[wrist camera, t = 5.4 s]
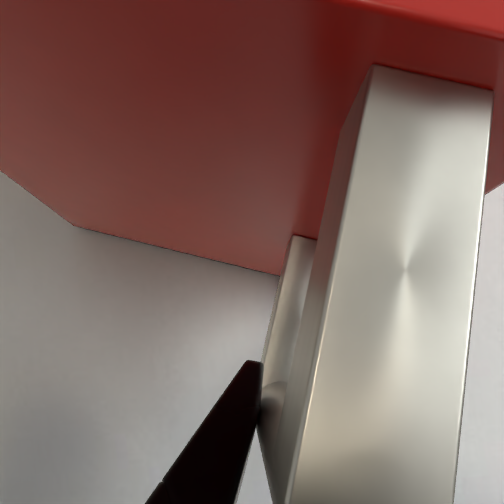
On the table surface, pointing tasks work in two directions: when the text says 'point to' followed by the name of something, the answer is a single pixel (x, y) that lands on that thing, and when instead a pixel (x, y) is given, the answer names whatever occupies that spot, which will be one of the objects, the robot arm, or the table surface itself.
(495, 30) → the red cabinet door
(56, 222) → the table surface
